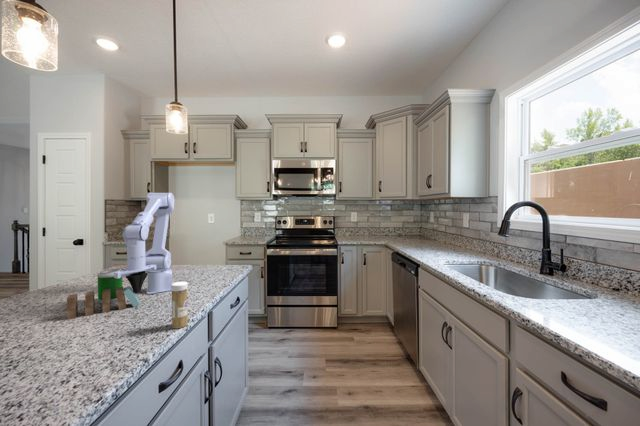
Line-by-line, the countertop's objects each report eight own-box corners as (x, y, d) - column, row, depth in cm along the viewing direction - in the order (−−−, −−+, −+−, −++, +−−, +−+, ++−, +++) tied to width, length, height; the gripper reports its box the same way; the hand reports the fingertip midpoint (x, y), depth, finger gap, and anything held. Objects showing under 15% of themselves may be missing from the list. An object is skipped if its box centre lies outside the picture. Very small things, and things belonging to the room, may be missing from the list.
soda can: (127, 298, 105) (126, 269, 105) (106, 305, 98) (105, 274, 97) (114, 296, 107) (113, 268, 107) (93, 303, 100) (92, 272, 100)
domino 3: (110, 307, 96) (110, 289, 96) (110, 311, 92) (109, 292, 92) (103, 309, 95) (103, 290, 94) (102, 313, 91) (102, 293, 91)
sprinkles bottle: (185, 328, 80) (185, 284, 79) (169, 329, 79) (168, 285, 78) (189, 321, 84) (189, 280, 84) (174, 323, 83) (173, 281, 83)
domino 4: (126, 304, 98) (123, 286, 98) (125, 308, 95) (122, 289, 94) (119, 306, 97) (116, 288, 96) (119, 310, 94) (115, 291, 93)
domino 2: (94, 310, 93) (94, 291, 93) (93, 314, 89) (92, 294, 89) (87, 312, 92) (86, 292, 92) (85, 316, 88) (85, 295, 88)
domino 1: (77, 313, 90) (77, 293, 90) (75, 318, 87) (75, 297, 87) (69, 315, 89) (69, 295, 89) (67, 319, 86) (66, 298, 85)
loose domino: (139, 300, 101) (129, 285, 99) (139, 303, 97) (129, 288, 95) (133, 303, 100) (123, 288, 98) (133, 307, 96) (123, 292, 94)
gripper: (147, 252, 106) (148, 285, 107) (108, 259, 93) (108, 297, 93) (160, 254, 104) (160, 287, 104) (121, 261, 90) (121, 299, 91)
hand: (137, 292), depth 98 cm, fingers closed
